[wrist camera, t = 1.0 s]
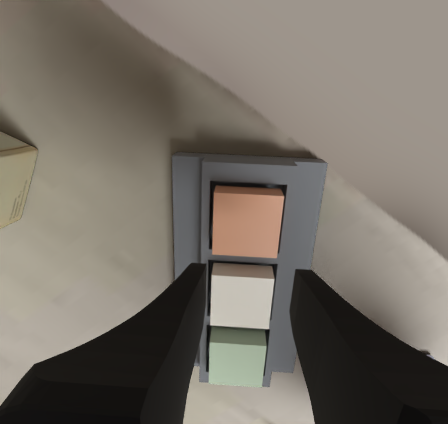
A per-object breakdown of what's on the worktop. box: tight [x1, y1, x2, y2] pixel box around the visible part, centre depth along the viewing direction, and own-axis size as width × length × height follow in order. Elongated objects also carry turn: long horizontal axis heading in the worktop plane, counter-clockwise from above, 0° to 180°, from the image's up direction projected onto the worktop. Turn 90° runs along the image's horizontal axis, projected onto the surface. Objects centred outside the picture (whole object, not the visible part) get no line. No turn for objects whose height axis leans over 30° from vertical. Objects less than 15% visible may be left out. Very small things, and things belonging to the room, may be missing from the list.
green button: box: [209, 326, 267, 388], centre depth 22 cm, size 4×4×2 cm
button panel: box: [172, 152, 328, 387], centre depth 22 cm, size 18×10×3 cm, turn 178°
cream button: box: [210, 263, 274, 329], centre depth 20 cm, size 4×4×2 cm
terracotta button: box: [212, 185, 284, 258], centre depth 18 cm, size 4×4×2 cm
